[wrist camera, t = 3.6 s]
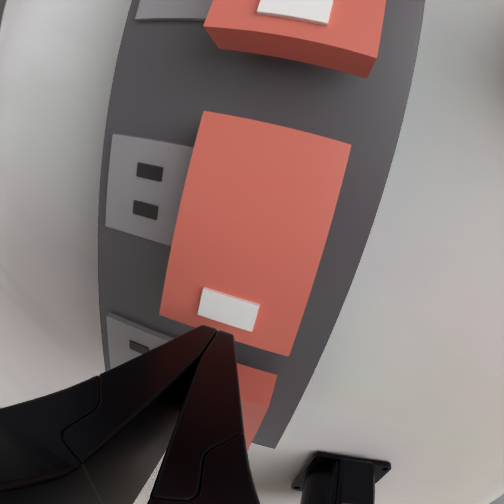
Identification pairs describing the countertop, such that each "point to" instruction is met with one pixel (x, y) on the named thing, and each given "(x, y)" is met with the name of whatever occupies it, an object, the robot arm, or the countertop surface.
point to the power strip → (179, 155)
